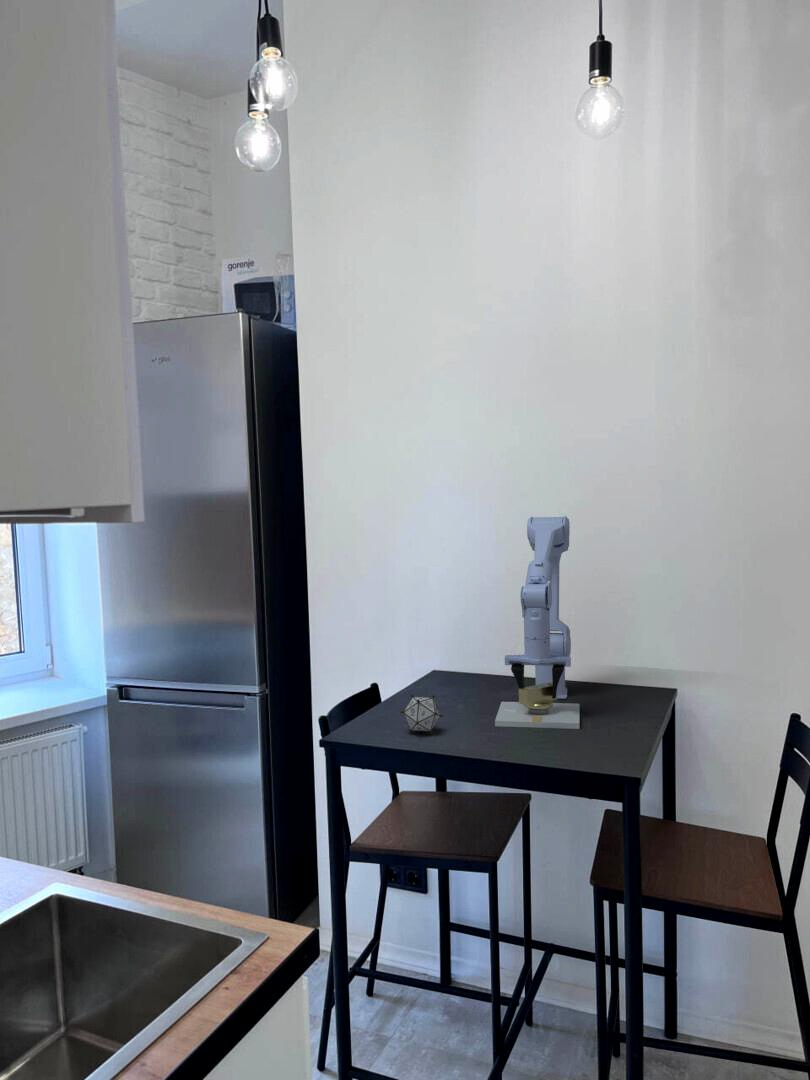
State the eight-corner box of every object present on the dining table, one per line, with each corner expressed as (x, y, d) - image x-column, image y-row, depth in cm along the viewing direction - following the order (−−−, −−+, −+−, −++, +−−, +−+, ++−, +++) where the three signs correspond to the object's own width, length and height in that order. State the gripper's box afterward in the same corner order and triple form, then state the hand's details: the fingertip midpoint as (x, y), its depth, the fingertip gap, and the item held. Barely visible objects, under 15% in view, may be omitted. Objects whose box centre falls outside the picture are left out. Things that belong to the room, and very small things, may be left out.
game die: (429, 747, 182) (455, 708, 183) (420, 744, 174) (447, 704, 175) (397, 723, 185) (423, 685, 186) (386, 719, 177) (413, 680, 178)
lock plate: (501, 706, 199) (501, 696, 199) (579, 708, 195) (579, 698, 195) (495, 726, 183) (494, 715, 183) (579, 728, 179) (579, 717, 179)
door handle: (513, 705, 189) (513, 686, 189) (543, 699, 194) (543, 680, 194) (532, 711, 184) (532, 691, 183) (563, 705, 189) (562, 685, 188)
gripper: (502, 640, 186) (503, 700, 187) (569, 641, 182) (570, 703, 183) (506, 634, 193) (507, 692, 194) (570, 635, 189) (571, 694, 190)
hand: (538, 697), depth 189 cm, fingers closed on door handle, 6 cm apart
